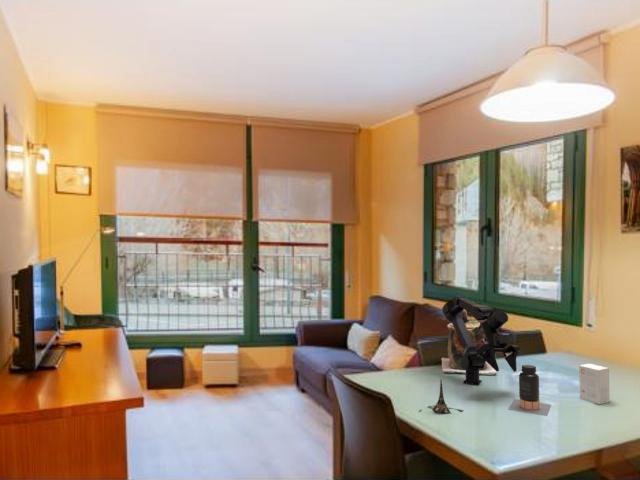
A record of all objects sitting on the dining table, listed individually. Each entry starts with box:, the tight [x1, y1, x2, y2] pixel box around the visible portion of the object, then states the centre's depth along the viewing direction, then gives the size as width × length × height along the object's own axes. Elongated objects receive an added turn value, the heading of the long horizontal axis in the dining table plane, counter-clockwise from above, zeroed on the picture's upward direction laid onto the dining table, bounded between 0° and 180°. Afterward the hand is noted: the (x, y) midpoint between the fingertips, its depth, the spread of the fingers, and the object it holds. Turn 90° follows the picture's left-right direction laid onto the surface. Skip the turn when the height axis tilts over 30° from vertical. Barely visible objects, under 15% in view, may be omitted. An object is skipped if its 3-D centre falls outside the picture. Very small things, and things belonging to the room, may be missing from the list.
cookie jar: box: [441, 309, 498, 376], centre depth 231 cm, size 25×25×32 cm
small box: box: [578, 363, 611, 405], centre depth 184 cm, size 8×6×13 cm
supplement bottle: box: [518, 364, 540, 401], centre depth 176 cm, size 7×7×12 cm
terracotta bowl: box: [519, 397, 541, 410], centre depth 176 cm, size 7×7×3 cm
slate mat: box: [507, 398, 552, 417], centre depth 176 cm, size 13×13×1 cm
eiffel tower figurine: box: [418, 378, 464, 416], centre depth 174 cm, size 15×10×13 cm
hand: (506, 371), depth 185 cm, fingers open, 9 cm apart
